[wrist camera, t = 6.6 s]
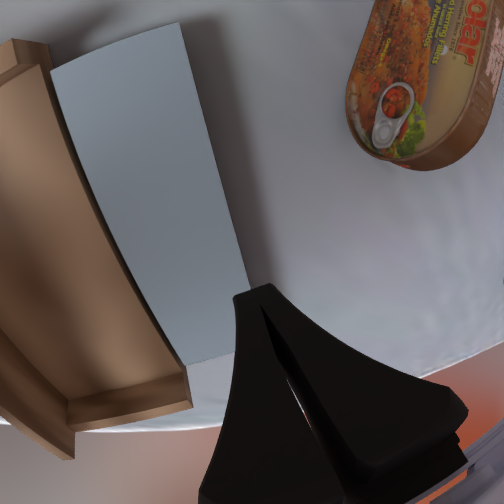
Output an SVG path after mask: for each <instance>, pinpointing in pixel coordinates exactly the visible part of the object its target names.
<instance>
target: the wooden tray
mask: <svg viewBox="0 0 504 504" xmlns="http://www.w3.org/2000/svg"><path fill="white" fill-rule="evenodd" d="M53 69H54V67H53V63H52V60H51V56H50V52H49V48H48V44H43V43H37V42H31V41H25V40H19V39H12V38H11V39H10V40H8V41H7V42H5V43H3V44H2V45H0V416H2V417H3V418H4V419H5V420H7V421H8V422H9V423H10V424H12V425H13V426H14V427H16V428H17V429H18V430H20V431H21V432H22V433H24V434H25V435H26V436H28V437H29V438H30V439H32V440H33V441H35V442H36V443H38V444H39V445H41V446H42V447H44V448H45V449H47V450H48V451H50V452H51V453H53V454H54V455H56V456H58V457H59V458H61V459H62V460H71V459H74V458H75V457H74V456H75V454H74V453H75V432H81V431H87V430H94V429H100V428H105V427H111V426H116V425H122V424H127V423H132V422H136V421H141V420H146V419H150V418H155V417H159V416H163V415H167V414H171V413H175V412H179V411H183V410H187V409H191V408H193V403H192V398H191V392H190V387H189V381H188V375H187V370H186V366H185V365H184V364H183V362H182V361H181V359H180V357H179V356H178V354H177V353H176V351H175V349H174V348H173V346H172V344H171V343H170V341H169V339H168V338H167V336H166V334H165V333H164V331H163V329H162V328H161V326H160V324H159V322H158V321H157V319H156V317H155V315H154V314H153V312H152V310H151V308H150V307H149V305H148V303H147V301H146V299H145V298H144V296H143V294H142V292H141V290H140V288H139V286H138V285H137V283H136V281H135V279H134V277H133V275H132V273H131V271H130V269H129V267H128V265H127V263H126V261H125V259H124V257H123V255H122V253H121V251H120V249H119V247H118V245H117V243H116V241H115V239H114V237H113V235H112V233H111V231H110V229H109V226H108V224H107V222H106V220H105V218H104V216H103V213H102V211H101V209H100V207H99V204H98V202H97V200H96V197H95V195H94V193H93V190H92V188H91V186H90V183H89V181H88V179H87V176H86V174H85V171H84V169H83V166H82V164H81V161H80V159H79V156H78V153H77V151H76V148H75V145H74V143H73V140H72V137H71V135H70V132H69V129H68V126H67V123H66V120H65V118H64V115H63V112H62V109H61V106H60V103H59V99H58V96H57V93H56V90H55V87H54V83H53V80H52V77H51V73H50V71H51V70H53Z"/></svg>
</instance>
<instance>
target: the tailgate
mask: <svg viewBox="0 0 504 504" xmlns="http://www.w3.org/2000/svg"><path fill="white" fill-rule="evenodd" d="M50 73H51V77H52V80H53V83H54V87H55V90H56V93H57V96H58V99H59V103H60V106H61V109H62V112H63V115H64V118H65V120H66V123H67V126H68V129H69V132H70V135H71V137H72V140H73V143H74V145H75V148H76V151H77V153H78V156H79V159H80V161H81V164H82V166H83V169H84V171H85V174H86V176H87V179H88V181H89V183H90V186H91V188H92V190H93V193H94V195H95V197H96V200H97V202H98V204H99V207H100V209H101V211H102V213H103V216H104V218H105V220H106V222H107V224H108V226H109V229H110V231H111V233H112V235H113V237H114V239H115V241H116V243H117V245H118V247H119V249H120V251H121V253H122V255H123V257H124V259H125V261H126V263H127V265H128V267H129V269H130V271H131V273H132V275H133V277H134V279H135V281H136V283H137V285H138V286H139V288H140V290H141V292H142V294H143V296H144V298H145V299H146V301H147V303H148V305H149V307H150V308H151V310H152V312H153V314H154V315H155V317H156V319H157V321H158V322H159V324H160V326H161V328H162V329H163V331H164V333H165V334H166V336H167V338H168V339H169V341H170V343H171V344H172V346H173V348H174V349H175V351H176V353H177V354H178V356H179V357H180V359H181V361H182V362H183V364H184V365H185V366H187V365H191V364H194V363H198V362H201V361H205V360H208V359H212V358H215V357H219V356H222V355H225V354H229V353H232V352H235V339H236V323H235V310H234V304H233V300H232V298H233V297H234V295H236V294H239V293H242V292H245V291H248V290H251V288H250V285H249V281H248V277H247V274H246V270H245V267H244V263H243V260H242V256H241V252H240V249H239V245H238V242H237V238H236V234H235V231H234V227H233V224H232V220H231V216H230V213H229V209H228V205H227V202H226V198H225V194H224V191H223V187H222V183H221V180H220V176H219V172H218V169H217V165H216V161H215V158H214V154H213V150H212V146H211V143H210V139H209V135H208V132H207V128H206V124H205V120H204V117H203V113H202V109H201V105H200V101H199V98H198V94H197V90H196V86H195V82H194V79H193V75H192V71H191V67H190V63H189V59H188V56H187V52H186V48H185V44H184V40H183V36H182V32H181V29H180V25H179V22H177V23H173V24H169V25H166V26H162V27H159V28H156V29H152V30H149V31H146V32H143V33H140V34H137V35H134V36H131V37H128V38H125V39H123V40H120V41H117V42H115V43H112V44H109V45H107V46H104V47H102V48H99V49H97V50H94V51H92V52H90V53H87V54H85V55H83V56H81V57H78V58H76V59H74V60H72V61H70V62H68V63H66V64H63V65H61V66H59V67H57V68H55V69H53V70H51V71H50Z"/></svg>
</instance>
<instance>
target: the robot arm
mask: <svg viewBox="0 0 504 504" xmlns="http://www.w3.org/2000/svg"><path fill="white" fill-rule="evenodd" d="M232 300H233V304H234V310H235V323H236V339H235V357H234V367H233V376H232V382H231V388H230V394H229V399H228V404H227V408H226V412H225V417H224V421H223V424H222V428H221V431H220V434H219V438H218V441H217V444H216V447H215V450H214V453H213V456H212V459H211V461H210V464H209V466H208V469H207V471H206V474H205V476H204V478H203V481H202V483H201V486H200V488H199V496H198V504H415V503H416V502H418V501H420V500H422V499H423V498H425V497H427V496H428V495H430V494H431V493H433V492H434V491H436V490H437V489H439V488H440V487H442V486H443V485H445V484H447V483H448V482H449V481H451V480H452V479H454V478H455V477H456V476H458V475H459V474H461V473H462V472H464V471H465V470H466V469H468V470H467V476H466V478H465V479H463V480H462V481H460V482H459V483H457V484H456V485H454V486H453V487H451V488H450V489H449V490H447V491H445V492H444V493H443V494H441V495H440V496H438V497H437V498H435V499H434V500H432V501H431V502H430V504H504V418H503V419H502V420H501V421H500V422H498V423H497V424H496V425H495V426H494V427H493V428H491V429H490V430H489V431H488V432H487V433H485V434H484V435H483V436H482V437H480V438H479V439H478V440H477V441H475V442H474V443H473V444H472V445H470V446H469V447H468V448H466V449H465V450H463V451H462V450H461V449H460V447H459V446H458V443H459V442H460V439H459V437H458V436H457V434H456V433H455V431H456V430H457V429H458V428H459V427H460V425H461V424H462V423H463V422H464V420H465V419H466V418H467V416H468V411H469V410H468V409H467V407H466V406H465V404H464V403H463V402H462V400H461V399H460V398H459V397H458V396H457V395H456V394H455V393H454V392H453V391H452V390H451V389H450V388H449V387H447V386H443V385H439V384H436V383H432V382H429V381H426V380H423V379H420V378H417V377H414V376H411V375H409V374H406V373H403V372H401V371H398V370H396V369H394V368H392V367H389V366H387V365H385V364H383V363H380V362H378V361H376V360H374V359H372V358H370V357H368V356H366V355H364V354H362V353H360V352H359V351H357V350H355V349H353V348H352V347H350V346H348V345H346V344H345V343H343V342H342V341H340V340H339V339H337V338H336V337H334V336H333V335H331V334H330V333H328V332H327V331H325V330H324V329H323V328H321V327H320V326H319V325H317V324H316V323H315V322H313V321H312V320H311V319H310V318H308V317H307V316H306V315H305V314H303V313H302V312H301V311H300V310H299V309H297V308H296V307H295V306H294V305H293V304H292V303H291V302H290V301H289V300H288V299H287V298H285V297H284V296H283V295H282V294H281V293H280V291H279V290H278V289H277V288H276V287H275V286H274V285H273V284H271V283H268V284H265V285H263V286H260V287H257V288H254V289H251V290H248V291H245V292H242V293H239V294H236V295H234V297H233V298H232ZM287 380H288V381H287ZM288 382H289V383H288ZM289 384H290V385H289ZM290 386H291V387H290ZM291 388H292V390H293V391H294V393H295V395H296V397H297V399H298V401H299V402H300V404H301V406H302V408H303V410H304V412H305V415H306V417H307V419H308V422H309V424H310V426H311V427H310V426H309V424H308V422H307V420H306V418H305V416H304V414H303V412H302V410H301V408H300V406H299V404H298V402H297V400H296V398H295V396H294V394H293V392H292V390H291Z"/></svg>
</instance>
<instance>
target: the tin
mask: <svg viewBox="0 0 504 504" xmlns="http://www.w3.org/2000/svg"><path fill="white" fill-rule="evenodd" d="M503 66H504V0H375V3H374V6H373V9H372V13H371V16H370V19H369V21H368V25H367V28H366V31H365V34H364V37H363V39H362V42H361V45H360V48H359V51H358V54H357V57H356V59H355V62H354V65H353V68H352V71H351V74H350V77H349V80H348V84H347V90H346V100H345V105H346V117H347V122H348V125H349V128H350V131H351V133H352V135H353V137H354V139H355V140H356V142H357V143H358V144H359V146H360V147H361V148H362V149H363V150H364V151H365V152H367V153H368V154H370V155H371V156H373V157H375V158H378V159H381V160H385V161H390V162H392V163H394V164H396V165H398V166H401V167H404V168H407V169H411V170H417V171H430V170H436V169H440V168H443V167H446V166H448V165H450V164H452V163H454V162H456V161H458V160H459V159H460V158H462V157H463V156H464V155H466V154H467V153H468V152H469V151H470V150H471V149H472V148H473V147H474V146H475V144H476V143H477V142H478V140H479V139H480V137H481V136H482V134H483V132H484V130H485V128H486V126H487V123H488V121H489V117H490V114H491V111H492V108H493V104H494V100H495V97H496V94H497V90H498V86H499V82H500V78H501V74H502V70H503Z"/></svg>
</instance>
